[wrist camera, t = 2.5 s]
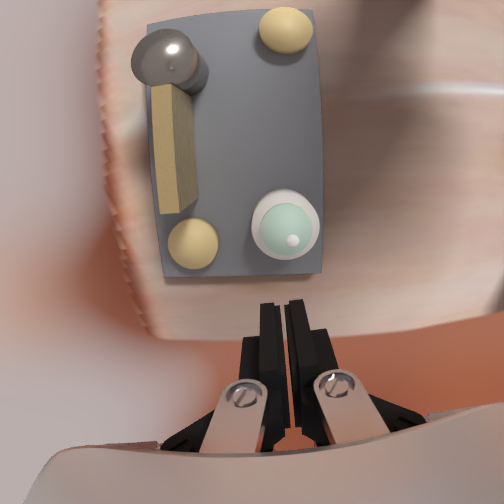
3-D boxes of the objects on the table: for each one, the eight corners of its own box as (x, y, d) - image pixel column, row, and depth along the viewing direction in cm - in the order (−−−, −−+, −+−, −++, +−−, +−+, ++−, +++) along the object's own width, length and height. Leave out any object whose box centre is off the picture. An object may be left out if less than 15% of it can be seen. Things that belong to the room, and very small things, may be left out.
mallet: (159, 57, 24) (131, 36, 17) (208, 49, 24) (192, 23, 17) (166, 199, 29) (140, 215, 22) (215, 196, 29) (201, 211, 22)
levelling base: (153, 30, 25) (128, 8, 18) (310, 17, 24) (320, -11, 17) (169, 270, 34) (149, 298, 28) (318, 265, 33) (330, 294, 27)
